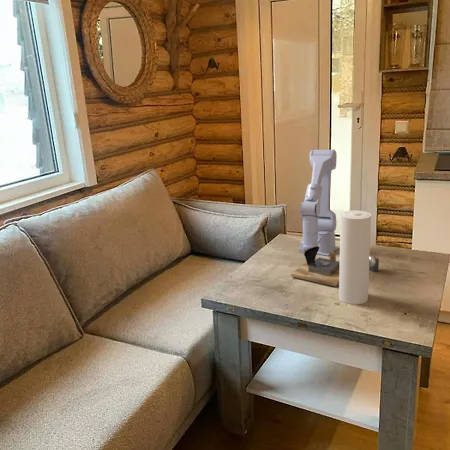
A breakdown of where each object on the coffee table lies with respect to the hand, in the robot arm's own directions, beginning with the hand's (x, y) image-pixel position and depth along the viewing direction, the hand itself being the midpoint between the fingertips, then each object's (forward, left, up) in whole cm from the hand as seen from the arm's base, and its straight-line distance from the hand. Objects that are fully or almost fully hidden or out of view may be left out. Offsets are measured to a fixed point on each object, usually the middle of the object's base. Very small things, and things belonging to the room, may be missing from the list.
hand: (310, 264), depth 176 cm
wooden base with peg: (0, +6, -3) cm, 6 cm away
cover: (0, +6, -1) cm, 6 cm away
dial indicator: (-12, +21, -3) cm, 24 cm away
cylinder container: (+13, +23, -3) cm, 26 cm away
